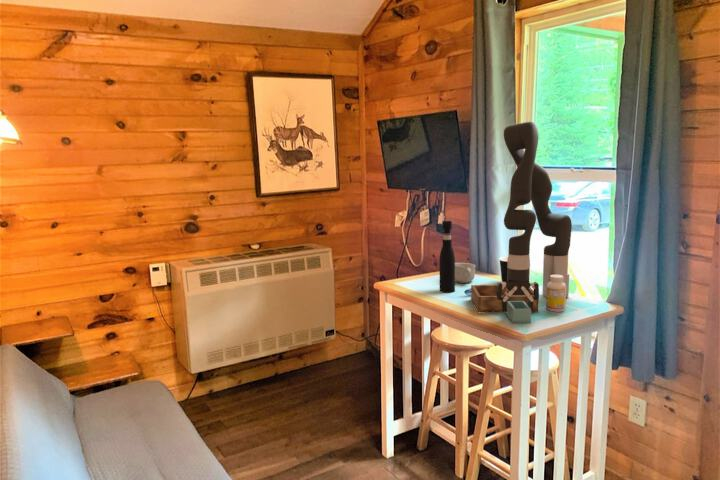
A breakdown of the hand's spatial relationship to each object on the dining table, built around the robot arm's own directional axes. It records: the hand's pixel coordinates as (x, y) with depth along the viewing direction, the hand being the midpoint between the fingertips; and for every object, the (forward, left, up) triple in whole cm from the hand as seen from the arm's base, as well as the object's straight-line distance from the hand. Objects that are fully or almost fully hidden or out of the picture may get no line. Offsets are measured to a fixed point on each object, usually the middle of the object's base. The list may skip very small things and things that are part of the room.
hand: (517, 311), depth 191 cm
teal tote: (-1, 0, -3) cm, 3 cm away
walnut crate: (+1, -16, -3) cm, 16 cm away
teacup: (+11, -52, -3) cm, 53 cm away
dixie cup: (-8, -49, -3) cm, 50 cm away
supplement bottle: (-17, -10, -3) cm, 20 cm away
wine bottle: (+20, -38, -3) cm, 43 cm away
